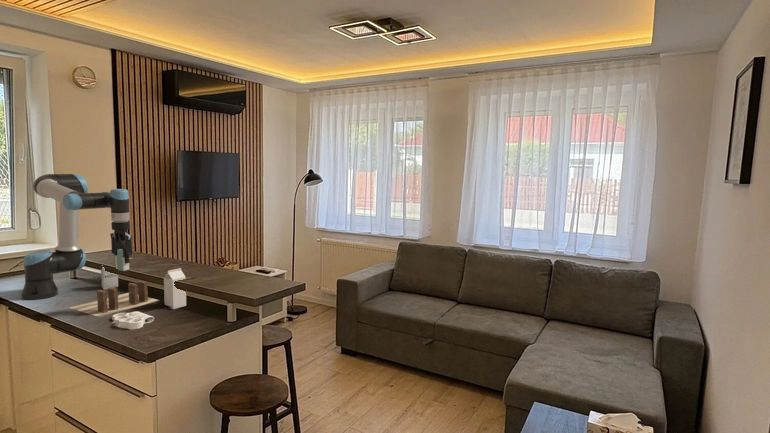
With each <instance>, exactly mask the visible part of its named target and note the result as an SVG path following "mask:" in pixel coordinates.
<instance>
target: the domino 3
mask: <svg viewBox="0 0 770 433" xmlns="http://www.w3.org/2000/svg"><path fill="white" fill-rule="evenodd" d="M122 256H124V255H123V250H122V248H121V249H119V250H117V259H118V271H121V272H128V270H129V269H128V270H123V259H122Z"/></svg>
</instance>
